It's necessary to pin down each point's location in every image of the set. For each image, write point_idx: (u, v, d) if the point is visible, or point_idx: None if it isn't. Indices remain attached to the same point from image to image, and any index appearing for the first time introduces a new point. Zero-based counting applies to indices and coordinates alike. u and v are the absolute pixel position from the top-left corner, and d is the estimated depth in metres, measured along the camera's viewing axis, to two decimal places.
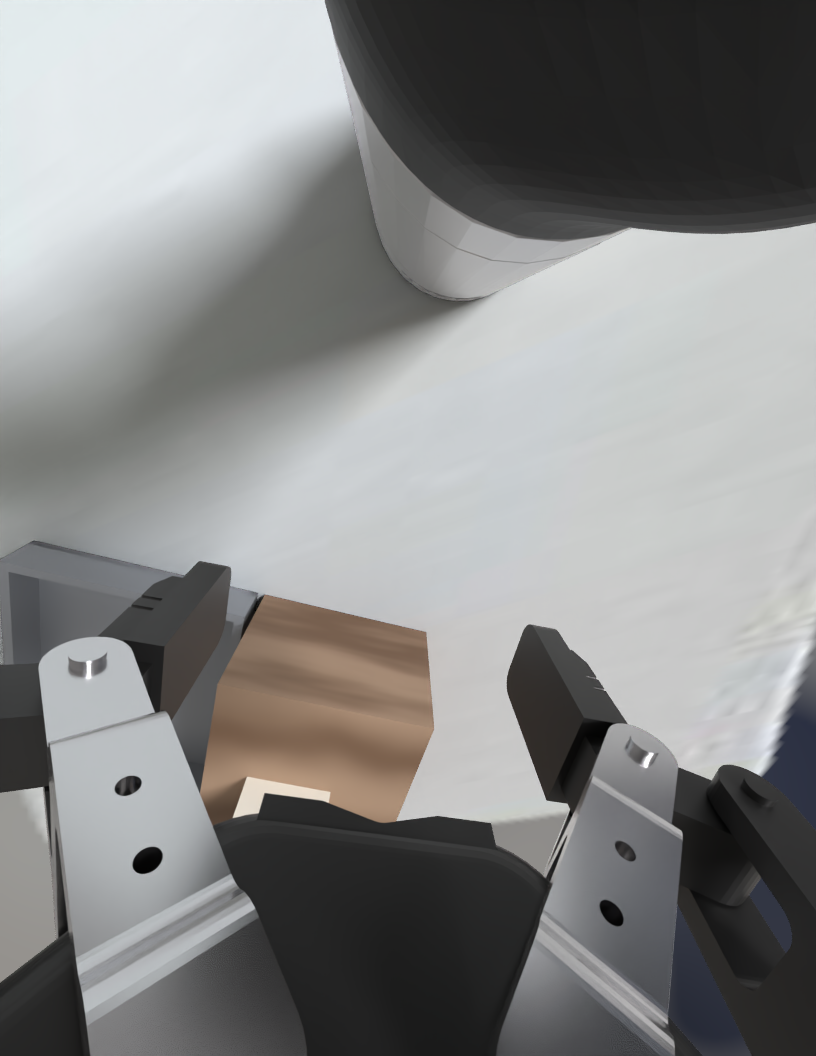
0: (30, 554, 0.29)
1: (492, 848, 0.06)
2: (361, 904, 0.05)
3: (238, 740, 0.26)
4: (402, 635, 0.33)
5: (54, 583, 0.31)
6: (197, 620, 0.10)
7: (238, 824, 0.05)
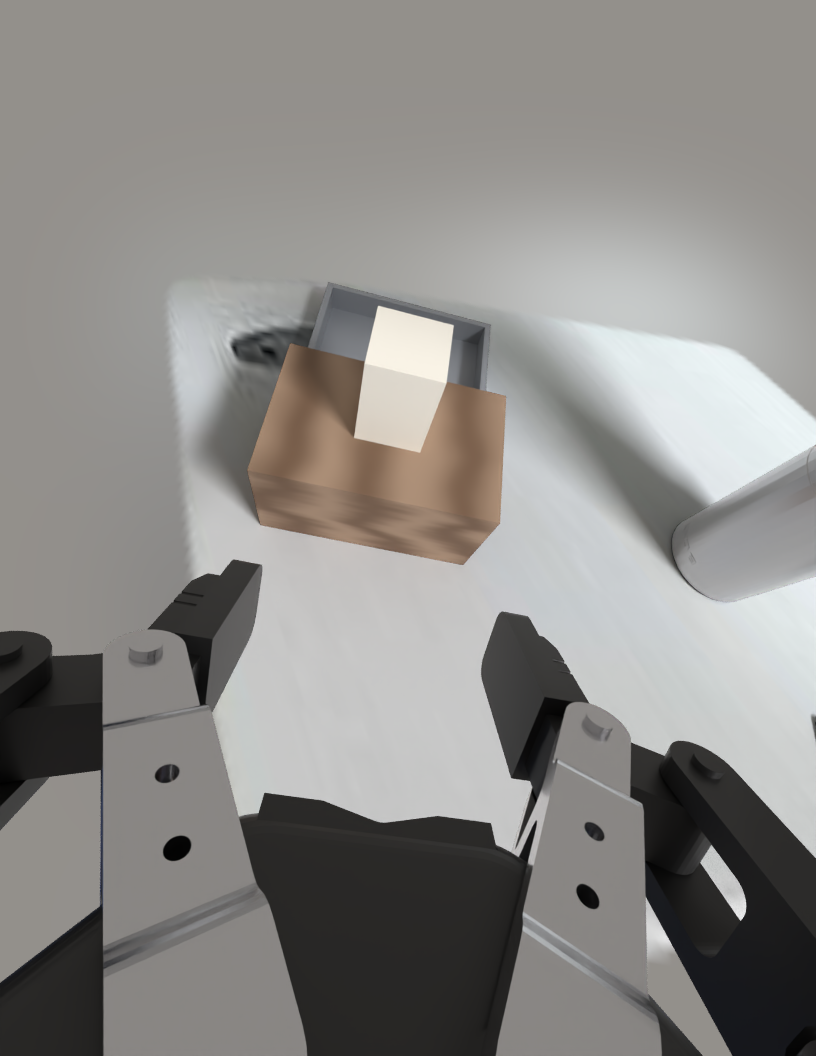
0: None
1: (492, 848, 0.06)
2: (361, 904, 0.05)
3: (461, 400, 0.37)
4: None
5: (459, 346, 0.51)
6: (236, 615, 0.10)
7: None
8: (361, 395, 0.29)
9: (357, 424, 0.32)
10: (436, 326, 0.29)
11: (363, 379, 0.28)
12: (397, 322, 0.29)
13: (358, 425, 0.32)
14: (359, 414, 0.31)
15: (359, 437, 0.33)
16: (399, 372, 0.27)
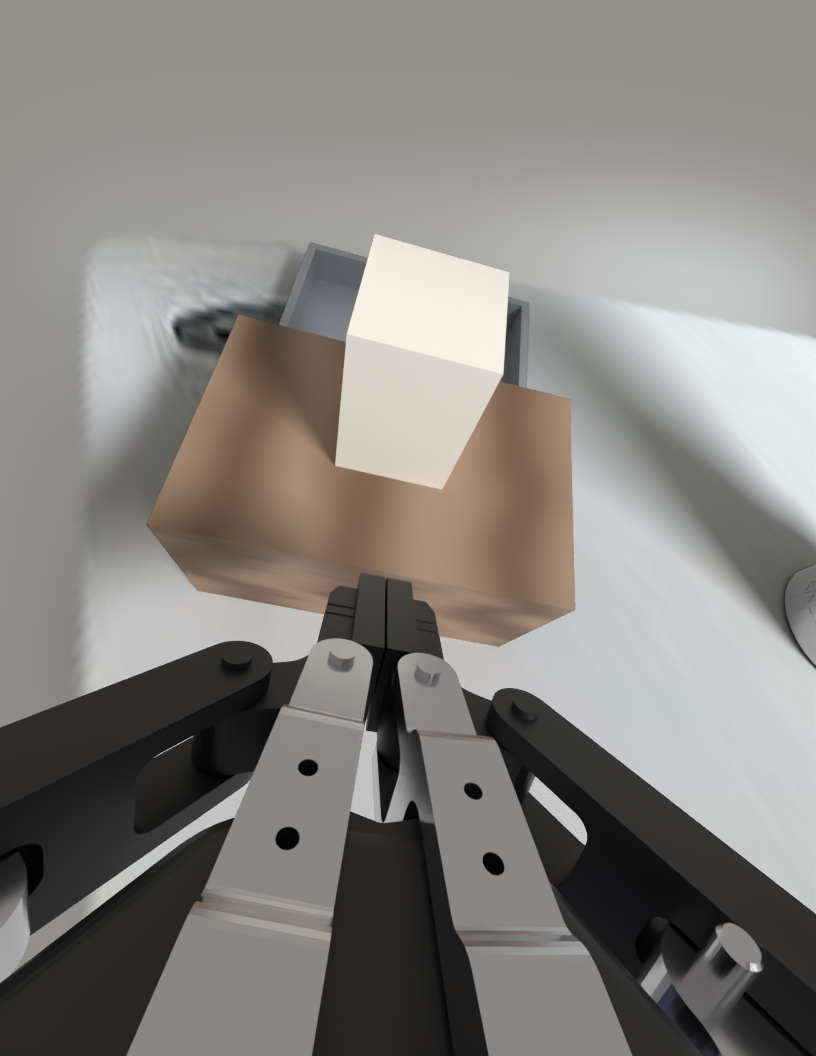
0: None
1: None
2: (361, 904, 0.05)
3: (503, 405, 0.24)
4: None
5: None
6: None
7: None
8: (343, 396, 0.16)
9: (339, 445, 0.19)
10: (479, 273, 0.16)
11: (346, 366, 0.15)
12: (409, 263, 0.16)
13: (340, 446, 0.19)
14: (341, 428, 0.18)
15: (343, 465, 0.20)
16: (415, 353, 0.14)
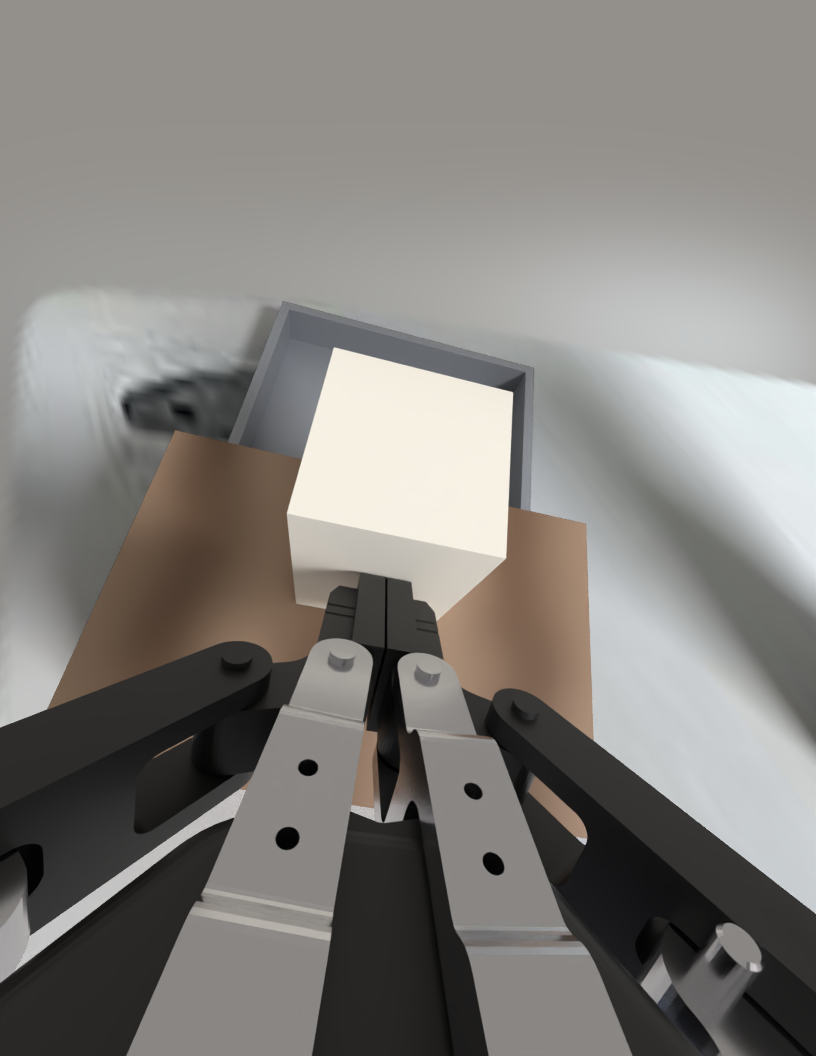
0: None
1: None
2: (361, 904, 0.05)
3: None
4: None
5: None
6: None
7: None
8: (294, 559, 0.12)
9: (298, 591, 0.15)
10: (473, 396, 0.12)
11: (292, 538, 0.11)
12: (380, 389, 0.12)
13: (299, 592, 0.15)
14: (298, 580, 0.14)
15: (306, 604, 0.16)
16: (383, 534, 0.10)
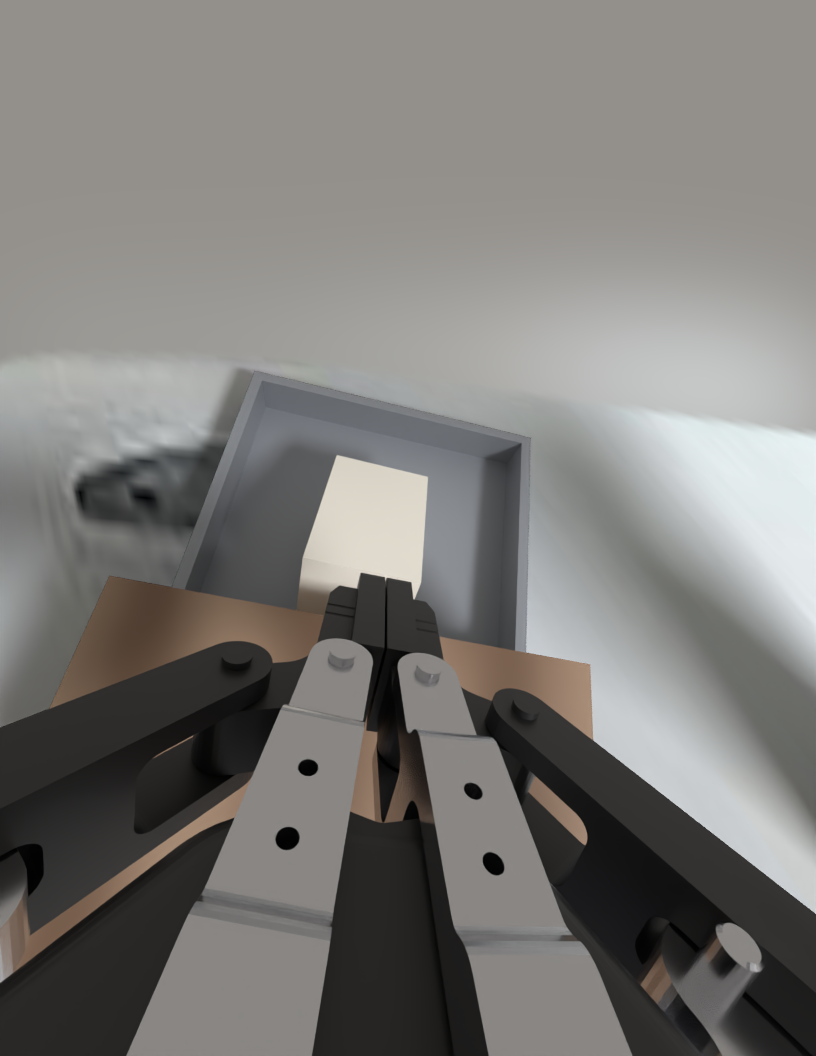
0: None
1: None
2: (361, 904, 0.05)
3: (496, 691, 0.17)
4: None
5: (477, 469, 0.31)
6: None
7: None
8: (328, 487, 0.22)
9: (314, 530, 0.20)
10: None
11: (333, 469, 0.23)
12: None
13: (315, 531, 0.20)
14: (320, 513, 0.21)
15: (313, 556, 0.19)
16: (376, 464, 0.24)
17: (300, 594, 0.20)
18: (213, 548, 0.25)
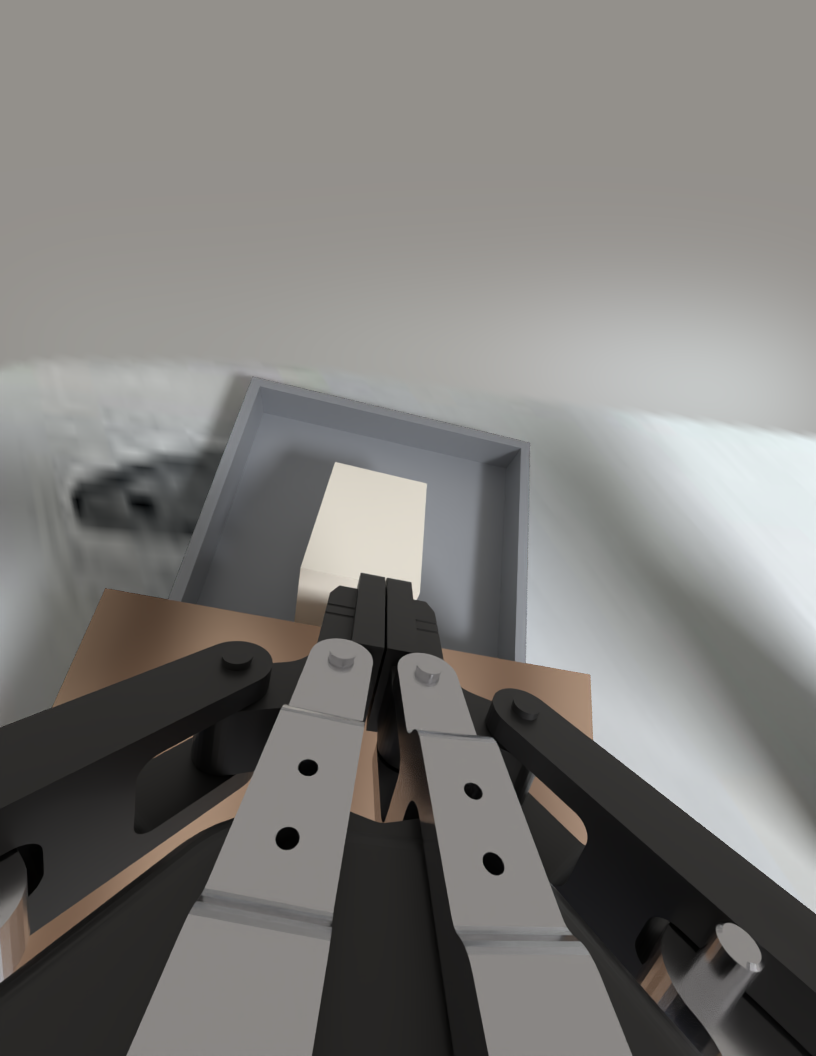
0: None
1: None
2: (361, 904, 0.05)
3: None
4: None
5: (477, 473, 0.31)
6: None
7: None
8: (326, 495, 0.22)
9: (312, 539, 0.20)
10: None
11: (331, 477, 0.23)
12: None
13: (313, 540, 0.20)
14: (319, 522, 0.20)
15: (311, 566, 0.19)
16: (374, 471, 0.24)
17: (298, 603, 0.20)
18: (211, 556, 0.25)
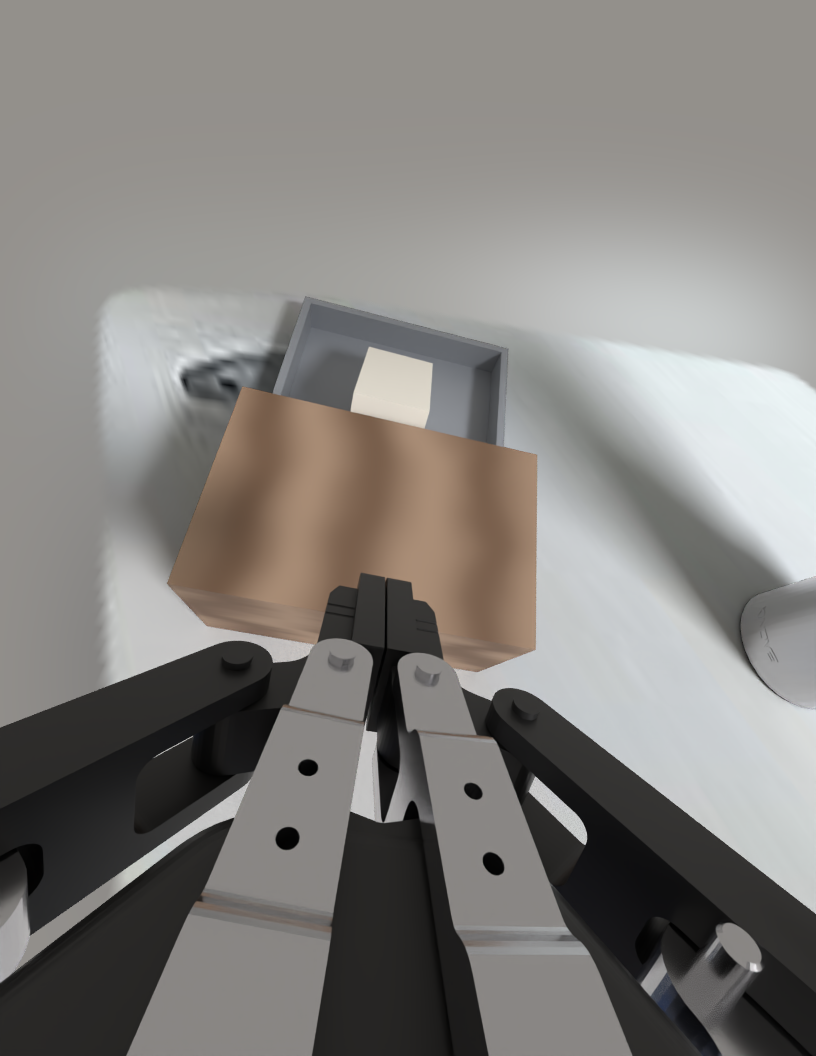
0: None
1: None
2: (361, 904, 0.05)
3: (477, 463, 0.27)
4: None
5: (469, 375, 0.41)
6: None
7: None
8: (365, 362, 0.32)
9: (359, 381, 0.30)
10: None
11: (367, 353, 0.33)
12: None
13: (359, 381, 0.30)
14: (362, 373, 0.31)
15: (360, 392, 0.29)
16: (396, 354, 0.35)
17: None
18: None
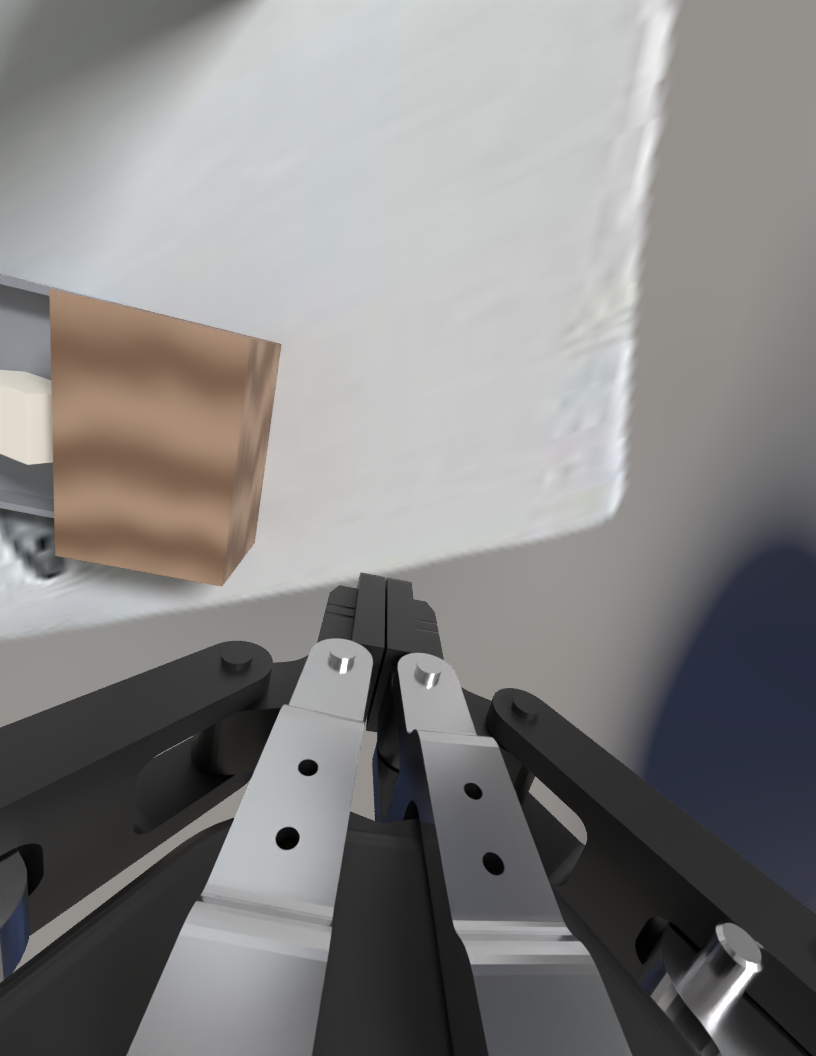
0: None
1: None
2: (361, 904, 0.05)
3: (77, 359, 0.29)
4: None
5: None
6: None
7: None
8: None
9: (10, 456, 0.32)
10: None
11: None
12: None
13: (11, 456, 0.32)
14: None
15: (25, 458, 0.32)
16: None
17: None
18: None
